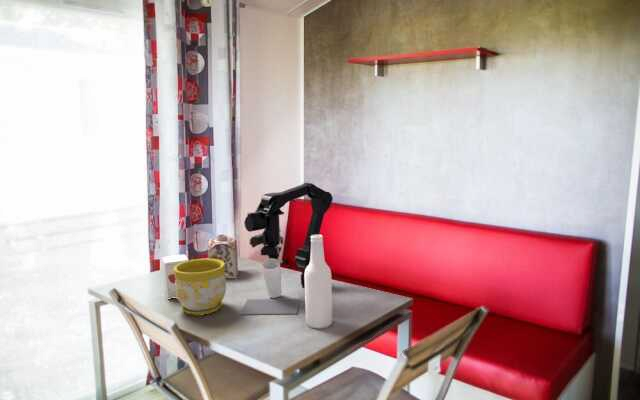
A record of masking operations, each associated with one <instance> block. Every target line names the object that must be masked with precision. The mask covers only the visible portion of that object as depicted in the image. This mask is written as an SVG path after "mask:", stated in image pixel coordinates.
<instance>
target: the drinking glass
mask: <svg viewBox="0 0 640 400" xmlns="http://www.w3.org/2000/svg"><path fill="white" fill-rule="evenodd" d="M281 271H282V270H281V263H280V261H279V260H277V259H274V258H270V259H269V258H267V259H265V260H263V262H261V272H262V276H263V277H262V278H263V280H264V283H265V286H266V287H265V288H266V291H267V295H268V297H270V299H278V297H280V296H281V295H282V272H281Z"/></svg>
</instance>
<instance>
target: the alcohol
mask: <svg viewBox="0 0 640 400" xmlns="http://www.w3.org/2000/svg"><path fill="white" fill-rule="evenodd" d="M323 238H324V235H322V234H319V235H312V236H311V256H310V263H309V265H308V266H307V267H306V269H305V273H304V280H305V288H304V306H305V308H304V309H305V323H306V325H307V326H308V327H309V328H311V329H317V330H319V329H326V328H329V327H330V326H331V324H332V323H333V299H332V298H333V296H332V295H333V293H332V292H333V291H332V290H333V289H332V272H331V268H330V266H329V265H328V264H327V263H326V261H325V260H326V259H325V253H324V252H325V251H324V243H323V242H324V239H323ZM328 326H329V327H328Z"/></svg>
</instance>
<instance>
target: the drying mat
mask: <svg viewBox="0 0 640 400" xmlns="http://www.w3.org/2000/svg"><path fill="white" fill-rule="evenodd" d="M300 301H301V298H255V299H254V298H253V299H251V298H250V299H249V298H248V299H247V300H246V301H245V303H244V305H243V307H242V309H241V311H240V313H239V315H240V316H257V315H258V316H263V315H264V316H265V315H266V316H269V315H272V316H273V315H275V316H276V315H278V316H279V315H280V316H281V315H283V316H284V315H290V316H291V315H298V312H299V307H300V304H301V303H300Z"/></svg>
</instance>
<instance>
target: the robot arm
mask: <svg viewBox="0 0 640 400" xmlns="http://www.w3.org/2000/svg"><path fill="white" fill-rule="evenodd" d="M304 196H307V197H308V198H310V200H311V201H310V206H311V216H310V219H309V223H308V227H307V231H306V235H305V239H304V243H303V246H302V247H301V248H299V247H297V250H296V254H295V256H294V259H295V264H296V266H297V267H298V270H300V271H302V272H301V273H300V285H301V287H302V288H303V289H305V280H304V273H305V269H306V267H307V266H308V265H309V263H310V256H311V236H312V235H320V232H321V229H322V224H323V221H324V217H325V214H326V212H328V210H329V209H330V208H331V205H332V204H333V203H332V202H333V200H334V199H333V195H332V193H331V192H329V191H326V190H324V189H323V188H320V187H318V186H316V185H315V184H314V183H311V182H304V183H302V184H300V185H297V186H295V187H291V188H289V189H286V190H284V191H281V192H270V193H269V192H268V193H264V194H262V196H261V198H260V202H259V203H258V205H257V207H256V209H255V211H254V212H247V216H245V220H244V227H245V229H246V231H247V232H251V233H252V232H256V231H261V230H263V231H262V233H260V234H257V235H254V236H251V237H250V238H249V245H251V248H255V247H258V246H260V245H262V246H263V247H261V249H260V255H261V256H268V259H270V258H274V259H277V260H278V259H279V257H280V254H281V251H282V250H283V249H282V246H281V247H280V246H279V245H280V244H281V245H284V240H285V239H284V237H283V236H281V228H280V216H282V215H285V211H282V210H281V209H282V208H284V206H285V205H286V204H288V203H289V202H291V201H295V200H298V199H300V198H302V197H304ZM278 261H279V260H278Z"/></svg>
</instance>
